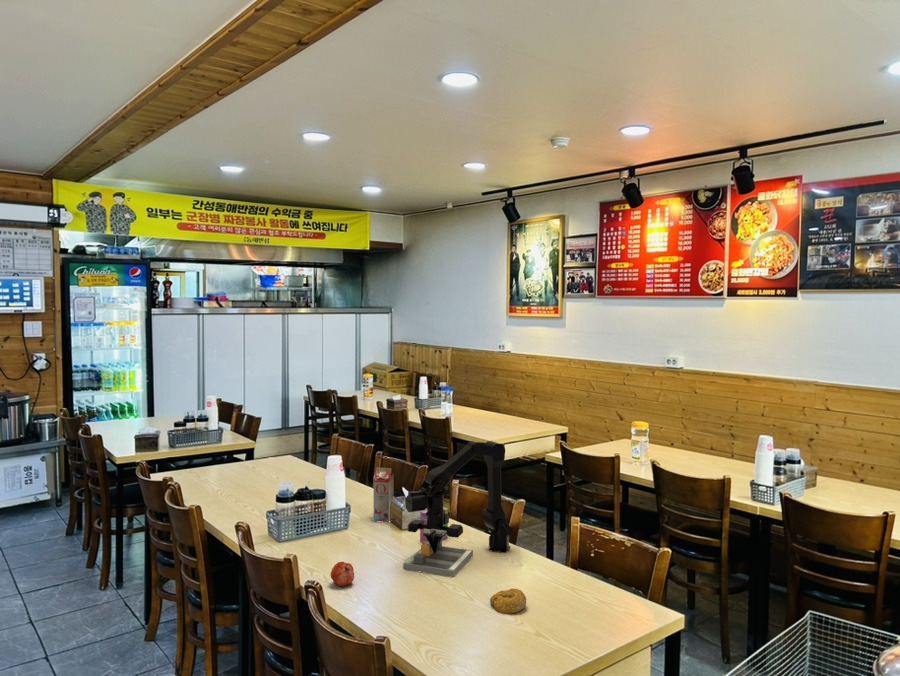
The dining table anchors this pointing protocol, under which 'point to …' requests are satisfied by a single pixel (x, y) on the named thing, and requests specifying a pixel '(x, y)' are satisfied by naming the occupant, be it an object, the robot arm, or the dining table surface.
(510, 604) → the bagel
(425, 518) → the box
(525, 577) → the dining table surface
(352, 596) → the dining table surface
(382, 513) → the juice carton
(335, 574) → the pomegranate
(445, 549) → the panel
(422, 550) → the handle
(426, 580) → the dining table surface
